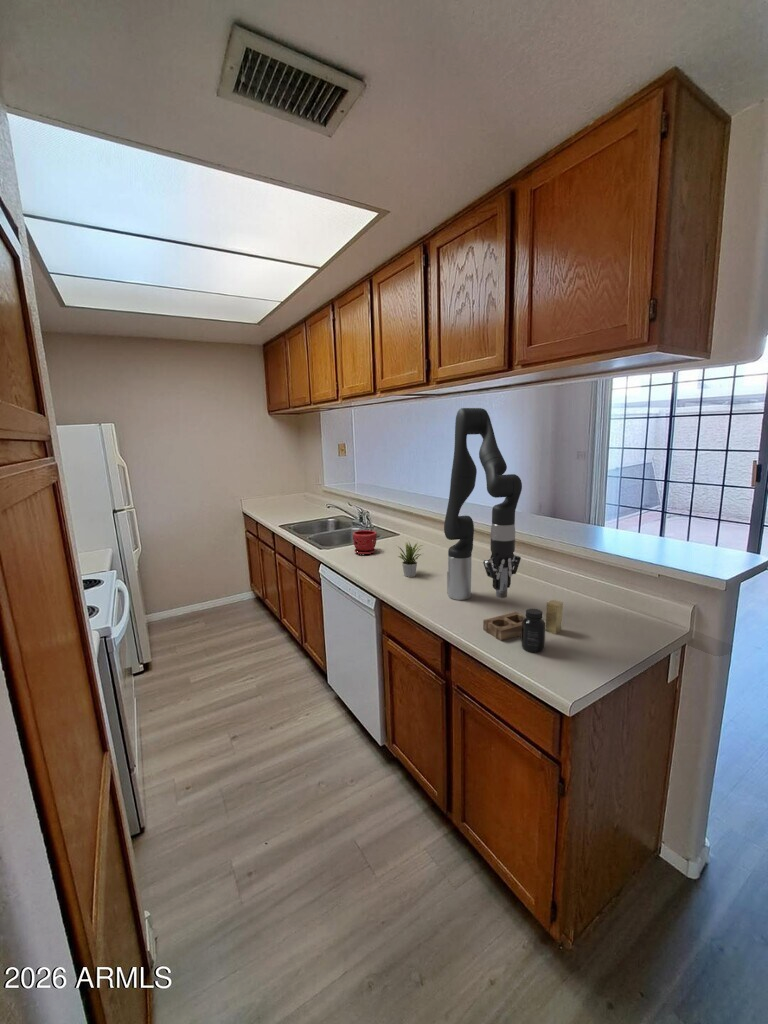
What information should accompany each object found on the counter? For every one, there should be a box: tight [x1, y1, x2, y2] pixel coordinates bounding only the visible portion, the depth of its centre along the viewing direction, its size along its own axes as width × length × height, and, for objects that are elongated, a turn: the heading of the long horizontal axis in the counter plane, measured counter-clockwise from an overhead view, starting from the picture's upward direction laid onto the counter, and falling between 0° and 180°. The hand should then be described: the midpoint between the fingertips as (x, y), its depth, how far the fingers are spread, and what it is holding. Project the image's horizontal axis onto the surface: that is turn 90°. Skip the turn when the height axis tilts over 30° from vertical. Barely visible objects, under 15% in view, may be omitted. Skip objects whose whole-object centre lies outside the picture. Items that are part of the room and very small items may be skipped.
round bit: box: [495, 567, 508, 599], centre depth 139 cm, size 4×4×10 cm
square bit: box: [545, 599, 564, 635], centre depth 142 cm, size 4×4×10 cm
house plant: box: [396, 540, 425, 578], centre depth 199 cm, size 14×14×16 cm
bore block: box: [482, 611, 526, 642], centre depth 143 cm, size 9×14×4 cm, turn 115°
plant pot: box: [352, 530, 378, 555], centre depth 238 cm, size 13×13×12 cm
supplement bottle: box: [520, 608, 546, 653], centre depth 131 cm, size 7×7×12 cm
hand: (501, 587), depth 139 cm, fingers closed on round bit, 3 cm apart
